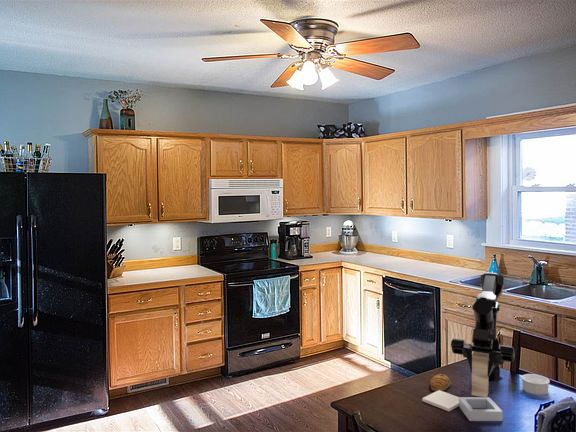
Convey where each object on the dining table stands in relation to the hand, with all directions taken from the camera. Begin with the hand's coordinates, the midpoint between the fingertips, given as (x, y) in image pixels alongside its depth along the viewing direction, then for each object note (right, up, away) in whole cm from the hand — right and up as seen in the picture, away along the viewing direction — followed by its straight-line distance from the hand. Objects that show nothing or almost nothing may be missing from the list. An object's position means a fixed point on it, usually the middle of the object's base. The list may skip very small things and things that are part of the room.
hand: (479, 374), depth 145 cm
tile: (-8, -13, +10) cm, 18 cm away
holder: (+1, -13, +2) cm, 13 cm away
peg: (+1, -7, +2) cm, 7 cm away
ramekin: (+27, -12, +19) cm, 35 cm away
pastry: (-5, -13, +22) cm, 26 cm away
